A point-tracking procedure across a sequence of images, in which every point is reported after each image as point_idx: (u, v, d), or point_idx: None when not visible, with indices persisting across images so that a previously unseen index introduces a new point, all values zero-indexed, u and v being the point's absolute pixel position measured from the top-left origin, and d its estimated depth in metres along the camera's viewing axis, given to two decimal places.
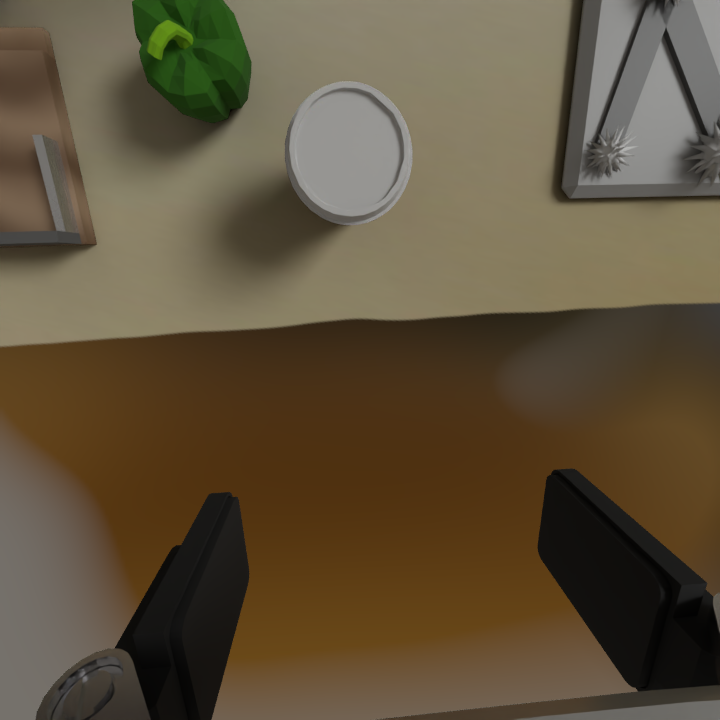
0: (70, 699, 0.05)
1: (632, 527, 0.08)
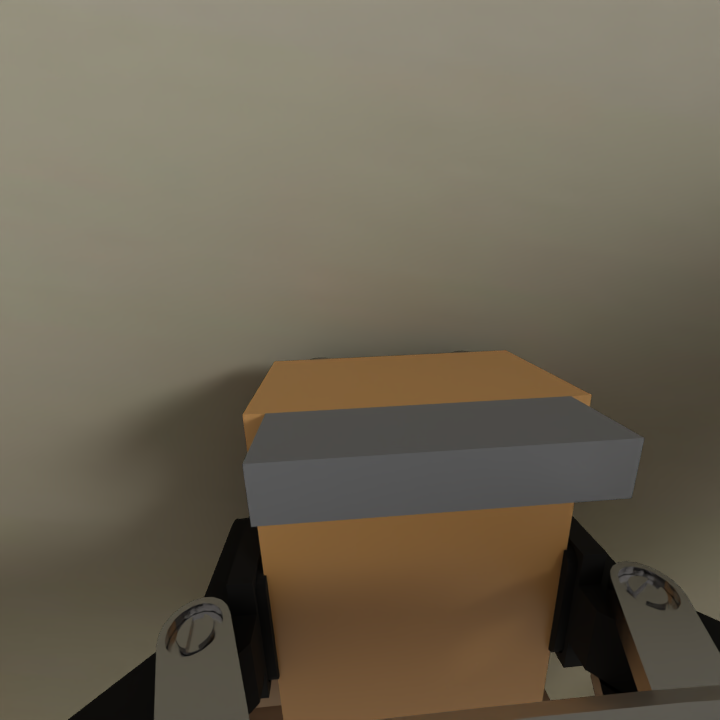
0: (180, 636, 0.06)
1: None
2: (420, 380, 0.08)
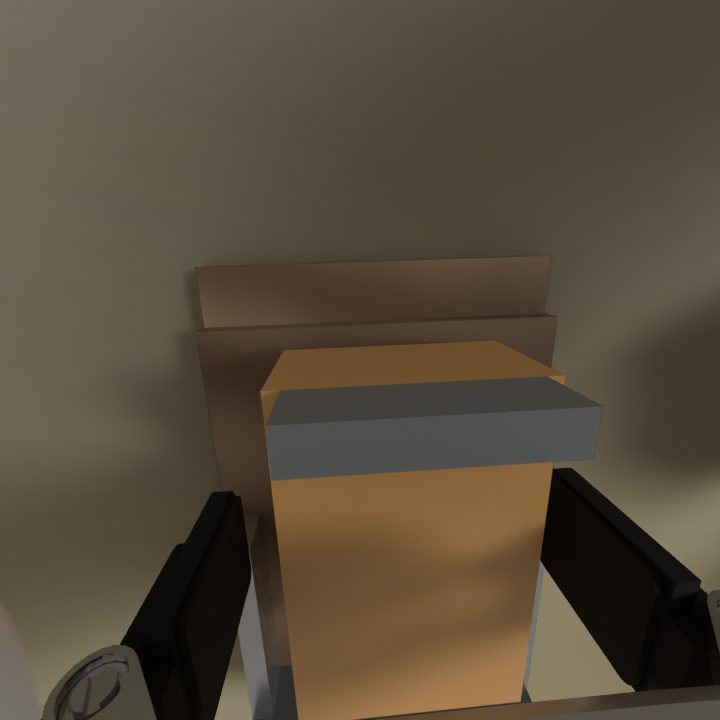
0: (76, 695, 0.05)
1: (628, 526, 0.08)
2: (416, 364, 0.08)
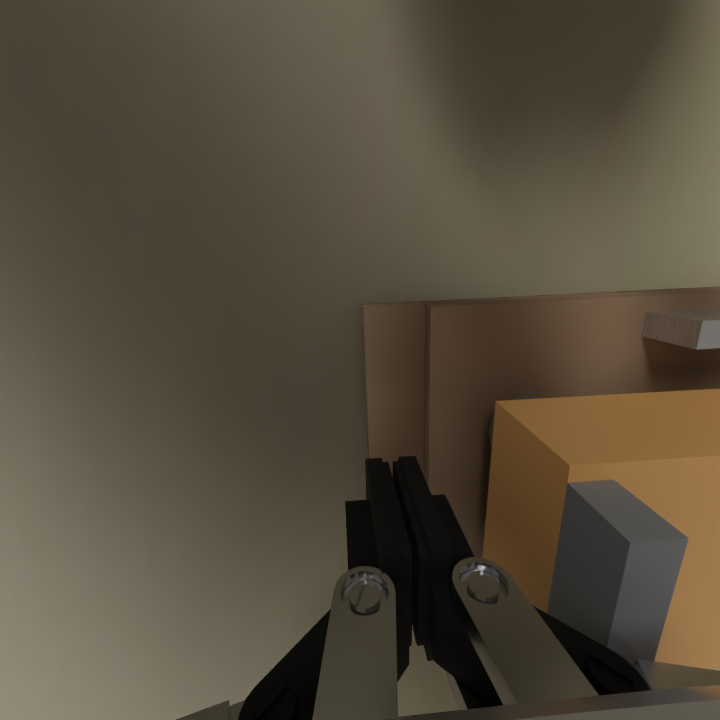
0: (352, 599, 0.07)
1: (426, 504, 0.09)
2: (522, 535, 0.09)
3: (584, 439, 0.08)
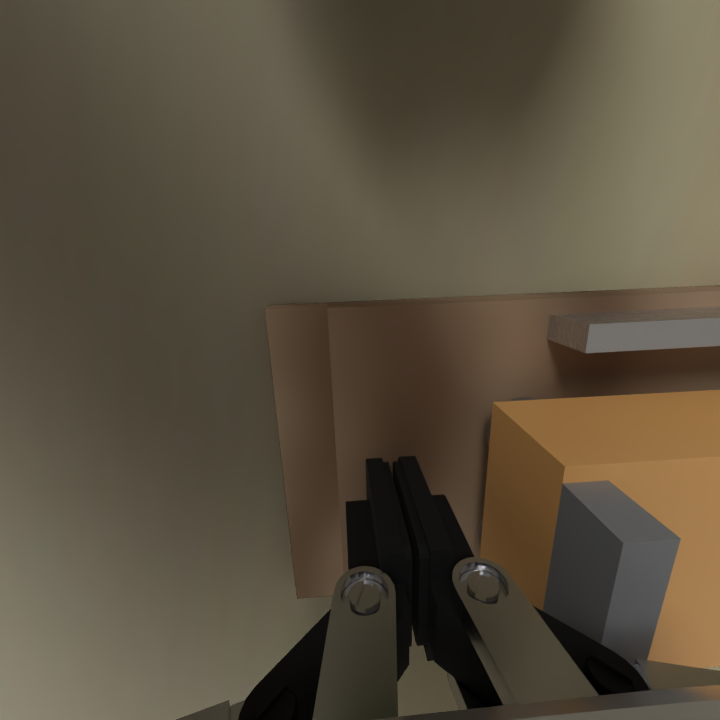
0: (352, 599, 0.07)
1: (426, 504, 0.09)
2: (519, 535, 0.09)
3: (580, 440, 0.08)
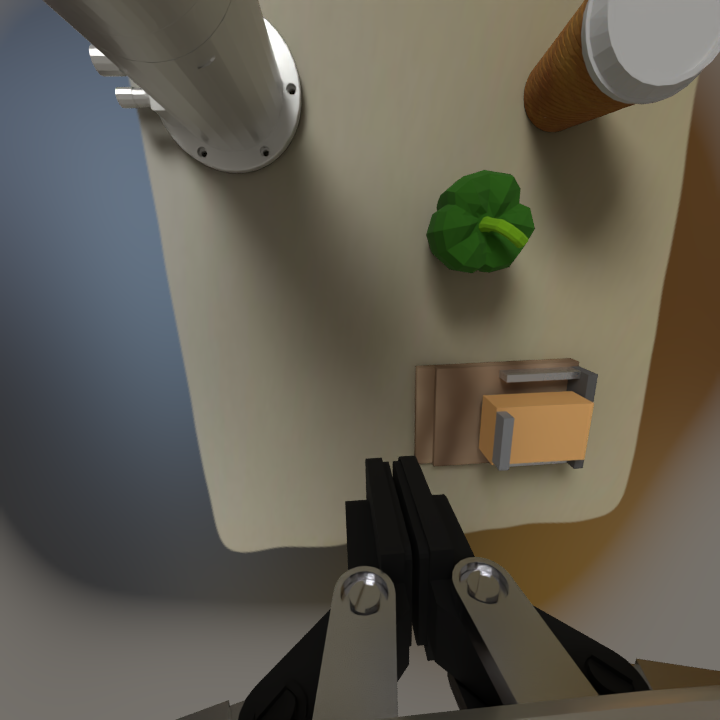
0: (351, 599, 0.07)
1: (426, 504, 0.09)
2: (489, 428, 0.36)
3: (502, 403, 0.35)
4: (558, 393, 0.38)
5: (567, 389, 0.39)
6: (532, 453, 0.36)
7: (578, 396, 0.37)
